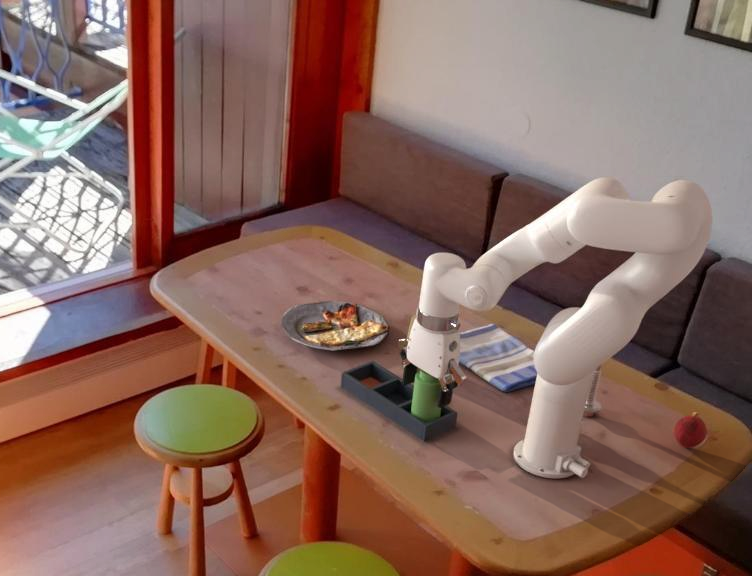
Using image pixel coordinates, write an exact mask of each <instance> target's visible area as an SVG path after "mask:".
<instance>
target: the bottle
mask: <svg viewBox="0 0 752 576" xmlns="http://www.w3.org/2000/svg"><path fill="white" fill-rule="evenodd" d="M413 383H414V384H413V386H414V391H413V399H412V407H411V414H412V415H414V416H415V417H417V418H418V419H420V420H421V421H423V422H425V423H429V422H431V421H433V420H435V419H438V418H440V414H441V408H439V407H437V402H438V396H439V390H440V389H442V387H441V384H440V382H439V379H437V378H435V377H433V376H432V375H430V374H428V373H427V372H425V371H423V370H422V369H420V371H419V372H417V373H416V375H415V382H413Z"/></svg>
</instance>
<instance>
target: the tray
mask: <svg viewBox="0 0 752 576" xmlns="http://www.w3.org/2000/svg"><path fill="white" fill-rule="evenodd" d="M340 376H341V377H340V389H343V390H344V391H346V392H347V393H349V394H350V395H352V396H354V397H355V398H356V399H358V400H359V401H361V402H363V403H364V404H366V405H367V406H369V407H371V409H373V410H375V411H376V412H378V413H379V414H381V415H382V416H384V417H386V418H388V419H389V420H390V421H392V422H394V423H395V424H397V425H398V426H399V427H400V428H403V429H404V430H406V431H407V432H409V434H411V435H413V436H415V437H416V438H418V439H419V440H421V441H423V442H427V441H429V440H431V439H433V438H435V437H437V436H440V435H442V434H444V433H446V432H448V431H451V430H453V429H455V428H456V426H457V419H458V413H459V412H457V410H455V409H453V408H451V407H450V406H448V405H446V406H444V407H441V414H440V418H438V419H435V420H433V421H431V422H429V423H425V422H423V421H421V420H420V419H418V418H417V417H415V416H414V415H412V414H411V407H412V399H413V391H414V384H413V383H410V384H408V385H405V386H404V385H403V384H402V380H403V377H400V376H398V375H397V374H396V373H394V372H392V371H390V370H389V369H387V368H385V367H384V366H383V365H381V364H379V363H378V362H376V361H374V360H370V361H368V362H366V363H363V364H360V365H358V366H356V367H352V368H350V369H347V370H345V371H341V375H340Z"/></svg>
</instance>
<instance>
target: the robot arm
mask: <svg viewBox="0 0 752 576" xmlns="http://www.w3.org/2000/svg"><path fill="white" fill-rule="evenodd" d="M712 230H713V211H712V207H711V202H710V198H709V197H708V194H707V192H706V191H705V190H704V189H703V188H702V187H701V186H700V185H699V184H698V183H696V182H694V181H692V180H688V179H679V180H675V181H672V182H669V183H667V184H666V185H664V186H663V187H661V188H660V189H659V190H658V191H657V192H656V193H655V194H654V196H653V197H652V199H651V201H643V200H632V199H630V195H629V192H628V190H627V188H626V187H625V185H624V184H623V183H621V182H620V181H619V180H617V179H616V178H612V177H607V176H606V177H605V176H604V177H598V178H596V179H592V180H591V181H589V182H587V183H586V184H584V185H583V186H581V187H579V188H578V189H577V190H575V191H574V192H573V193H572V194H570V195H569V196H568V197H566V198H564V199H563V200H561V202H559V203H558V204H556V205H555V206H553V207H552V208H550V209H549V210H548V211H546V212H544V213H543V214H542V215H540V216H539V217H537V218H536V219H535V220H533V221H532V222H530V223H529V224H526V225H525V226H523V227H522V228H520V229H518V230H516V231H515V232H513V233H512V234H510V235H508V236H507V237H506V238H504V239H503V240H501V241H500V242H499V243H497V244H495V245H494V246H493V247H492V248H490V249H489V250H487V251H486V252H485V253H484V254H482V255H481V256H480V257H479V258H478V259H477V260H476V261H475V262H474V263H473V264H472V266H471V267H469V268H467V266H466V262H465V261H464V260H465V259H464V258H462V257H460V256H459V255H456V254H454V253H450V252H435V253H432V254H430V255H429V256H428V257H427V258H426V260H425V262H424V266H423V272H422V273H423V274H422V279H421V280H422V281H421V288H420V294H419V295H420V296H419V303H418V307H419V308H418V307H417V308H418V316H417V317H416V318H415V320H414V323H413V326H412V329H411V332H410V336H409V338H407V337H406V338H405V337H403V338H401V339H398V340H397V345H398V349H399V353H398V354H399V355H400V358H401V360H402V361H401V366H402V367H403V373H402V379H403V380H402V384H403V385H404V386H405V385H408V384H413V383H415V375H416V373H417V367H419V368H420V369H422V370H423V371H425V372H427V373H428V374H430V375H432V376H433V377H435V378H437V379H439V382H440V384H441V387H442V389H440V390H439V396H438V402H437V407H439V408H441V407H444V406H448V405H450V404H451V403H452V399H453V394H454V389H456V388H458V387H460V386H462V384H463V383H464V382H465V381H466V380H467V375H466V374H465V372H464V371H463V370H462V368H461V367H460V362H459V358H460V333H461V332H460V328H461V323H460V322H458V321H459V314H460V309H461V306H462V307H464V308H466V309H469V310H471V311H474V312H482V313H483V312H488V311H490V310H492V309H494V308H495V307H496V305H498V303H499V302H500V300H501V299H502V297H503V295H504V294H505V292H506V291H507V290H508V288H509V287H510V285H511V284H512V283H514V282H515V281H516V280H518V279H520V278H521V277H522V276H523V275H525V274H527V273H529V272H530V271H531V270H533V269H535V268H536V267H538V266H540V265H541V264H543V263H551V264H560V263H562V262H563V261H565V260H567V259H568V258H569V257H571V256H572V255H574V254H575V253H576V252H579V251H580V250H581V249H583V248H584V247H586V246H590V247H594V248H598V249H603V250H613V251H619V252H629V253H633V254H632V256H630V257H629V258H628V259H627V260H625V261H624V262H623V263H622V264H621V265H619V266H618V267H617V268H616V269H615V270H613V271H612V272H611V273H609V274H608V275H607V276H606V277H604V278H603V279H601V280H600V281H599V282H597V284H595V285H594V287H593V288H592V289H591V290H590V292H589V293H588V296H587V298H586V299H585V302H584V304H583V305H582V307H577V306H576V307H575V306H574V307H568V308H564V309H562V310H560V311H558V312H557V313H556V314H554V315H553V317H552V318H551V319H550V320H549V321H548V323H547V325H546V327H545V329H544V330H543V333H542V334H541V337H540V339H539V340H538V342H537V344H536V346H535V349H534V351H535V352H534V358H533V359H534V366H535V369H536V371H537V378H536V383H535V384H534V389H533V393H532V399H531V402H530V403H531V404H530V409H529V414H528V419H527V423H526V424H527V425H526V429H525V434H524V439H522V440H520V441H518V442H517V443H516V444H515V446H514V448H513V458H514V460H515V462H516V463H517V465H518V466H519V467H520V468H521V469H523V470H524V471H526V472H528V473H530V474H532V475H534V476H537V477H541V478H546V479H557V480H558V479H565V478H566V479H567V478H569V477H573V476H574V475H577V477H579V478H582V479H584V478H585V477H586V476H587V475H588V473H589V468H590V466H591V462H590V461H588V460H586V459H584V458H582V455H581V453H582V447H581V446H579V445H578V441H579V436H580V432H581V431H580V430H581V428H582V427H581V426H582V423H583V417H584V415H583V414H584V409H585V405H586V400H587V397H588V393H589V389H590V384H591V380H592V376H593V372H594V370H595V369H596V368H598V367H599V366H600V365H601V366H602V365H603V364H604V363H606V362H607V361H608V360H609V359H611V358H613V356H615V355H616V354H617V353H618V352H620V351H621V350H623V349H624V348H625V347H626V346H627V345H628V344H629V343H630V342H631V340H632V339H633V338H634V337H635V335H636V334H637V332H638V330H639V328H640V326H641V323H642V320H643V319H644V317H645V315H646V313H647V312H648V311H649V310H650V308H651V307H653V306H654V305H655V304H657V303H658V302H659V301H660V300H661V299H662V298H664V297H665V296H666V295H667V294H668V293H670V292H671V291H672V290H673V289H674V288H675V287H676V286H678V285H679V284H680V283H681V282H682V281H683V280H684V279H685V278H687V276H688V275H689V274H690V273H692V271H693V270H694V268H695V267H696V266H697V265H698V264H699V262H700V260H701V259H702V257H703V255H704V253H705V251H706V249H707V247H708V244H709V241H710V238H711V234H712ZM446 378H447V380H448V383H447V380H446Z"/></svg>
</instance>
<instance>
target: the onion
mask: <svg viewBox="0 0 752 576" xmlns="http://www.w3.org/2000/svg"><path fill="white" fill-rule="evenodd" d="M699 416H700V414H699V412H697V411H693V413H691V415H686V416H684V417H681V418H680V419H679V420H678V421H677V422H676V424H675V426H674V427H673V434H674V438H675V440H676V441H677V443H678V444H679V445H680V446H682V447H683V448H686V449H688V448H694V447H697V446H699V445H701V444H702V443H703V442H704V441H705V439H706V437H707V426H706V424H705V422H704V420H703V419H702V418H701V417H699Z"/></svg>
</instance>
